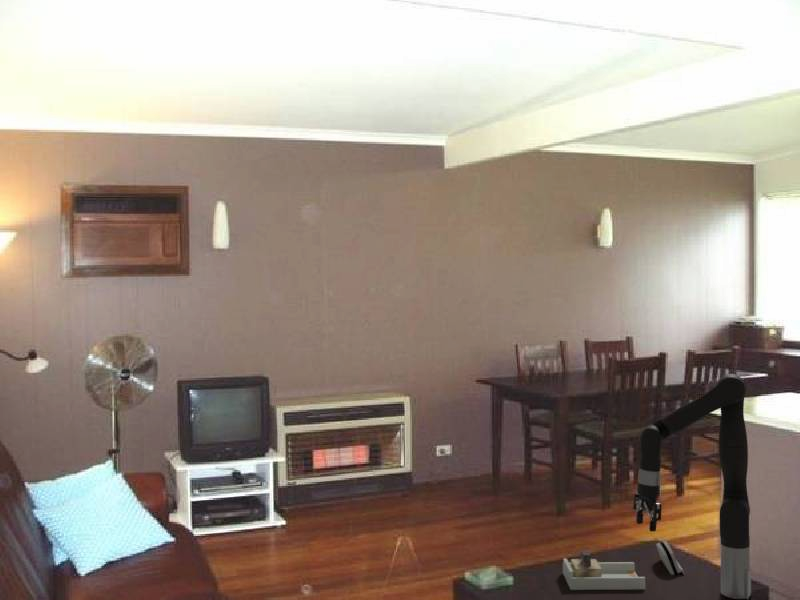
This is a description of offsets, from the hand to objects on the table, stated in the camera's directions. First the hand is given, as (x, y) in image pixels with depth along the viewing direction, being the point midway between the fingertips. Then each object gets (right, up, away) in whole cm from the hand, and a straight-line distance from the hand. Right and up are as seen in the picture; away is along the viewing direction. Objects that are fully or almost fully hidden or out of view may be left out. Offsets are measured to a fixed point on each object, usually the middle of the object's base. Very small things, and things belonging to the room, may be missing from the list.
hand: (645, 527), depth 295 cm
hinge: (+14, -20, +18) cm, 30 cm away
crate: (-20, -19, +4) cm, 28 cm away
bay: (-14, -21, +4) cm, 25 cm away
